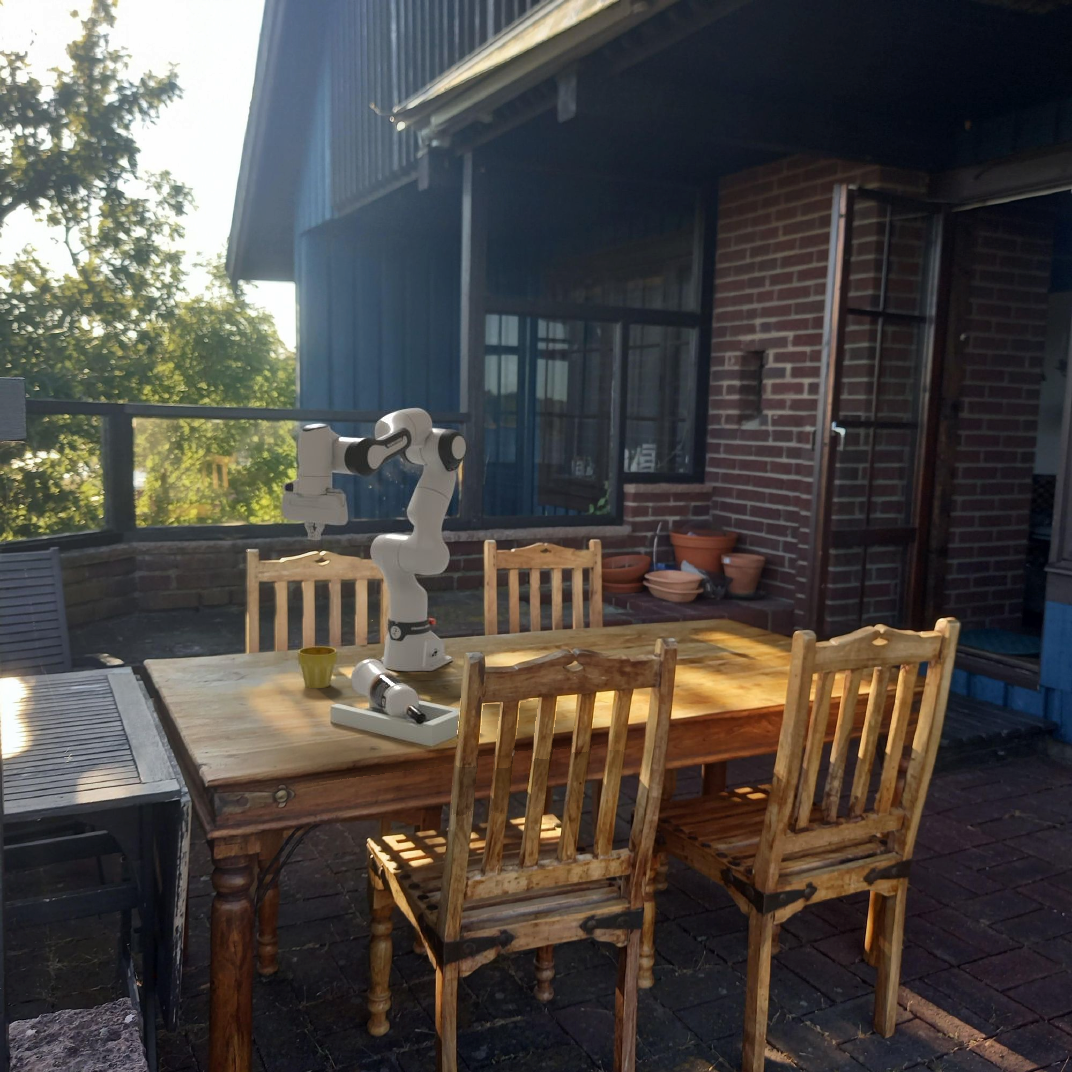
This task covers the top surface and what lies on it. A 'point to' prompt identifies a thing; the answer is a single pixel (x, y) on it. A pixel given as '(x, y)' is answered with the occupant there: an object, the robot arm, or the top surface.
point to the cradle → (401, 722)
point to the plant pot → (317, 665)
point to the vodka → (386, 690)
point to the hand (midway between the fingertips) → (314, 539)
